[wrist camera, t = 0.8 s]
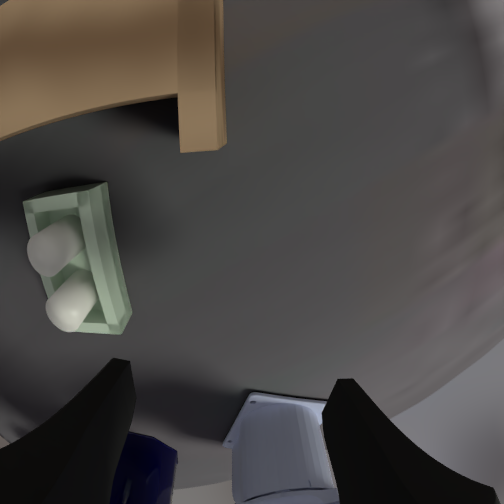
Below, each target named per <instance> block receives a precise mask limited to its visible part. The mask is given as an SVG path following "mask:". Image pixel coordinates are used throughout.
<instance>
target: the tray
mask: <svg viewBox="0 0 504 504" xmlns="http://www.w3.org/2000/svg"><path fill="white" fill-rule="evenodd" d="M23 206H24V212H25V217H26V221H27V226H28V231H29V235H30V240H29V242H28V245H27V254H28V258H29V261H30V263H31V265H32V266H33V268H34V269H35V270H36V271H37V272H38V273H40V276H41V279H42V282H43V285H44V288H45V291H46V294H47V297H48V300H47V302H46V312H47V315H48V317H49V319H50V320H51V321H52V323H53V324H54V325H55V326H56V327H58V328H59V329H60V330H63V331H66V332H74V331H75V332H88V333H104V334H122V332H123V330H124V328H125V326H126V324H127V323H128V321H129V319H130V317H131V315H132V309H131V305H130V301H129V297H128V293H127V289H126V285H125V280H124V276H123V272H122V267H121V262H120V257H119V252H118V247H117V242H116V237H115V231H114V225H113V219H112V213H111V206H110V199H109V192H108V184H107V182H102V183H95V184H89V185H82V186H76V187H70V188H64V189H58V190H52V191H47V192H43V193H41V194H39V195H36V196H34V197H32V198H29V199H27V200H25V201H23Z"/></svg>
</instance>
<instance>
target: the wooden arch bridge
mask: <svg viewBox="0 0 504 504" xmlns="http://www.w3.org/2000/svg"><path fill="white" fill-rule="evenodd" d="M175 97H178V114H179V135H180V152H181V153H184V152H196V151H210V150H218V149H220V148H221V147H222V146H224V145H225V144H226V143H227V136H226V109H225V77H224V35H223V0H9V1H7V2H6V3H4V4H3V5H1V6H0V141H2V140H4V139H7V138H10V137H12V136H15V135H18V134H20V133H23V132H26V131H29V130H32V129H35V128H38V127H41V126H44V125H47V124H50V123H54V122H57V121H61V120H64V119H68V118H71V117H75V116H79V115H83V114H87V113H91V112H95V111H100V110H104V109H109V108H113V107H118V106H124V105H129V104H135V103H140V102H147V101H153V100H160V99H167V98H175Z"/></svg>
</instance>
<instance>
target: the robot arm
mask: <svg viewBox="0 0 504 504" xmlns="http://www.w3.org/2000/svg"><path fill="white" fill-rule="evenodd" d="M135 403H136V394H135V388H134V383H133V377H132V371H131V365H130V361H127V360H122V359H117V358H113V359H111V360H110V361H109V362H108V363H107V365H106V366H105V367H104V368H103V369H102V370H101V371H100V372H99V373H98V374H97V375H96V376H95V377H94V378H93V379H92V380H91V381H90V382H89V383H88V384H87V385H86V386H85V387H84V388H83V389H82V390H81V391H80V392H79V393H78V394H77V395H76V396H75V397H74V398H73V399H72V400H71V401H70V402H68V403H67V404H66V405H65V406H64V407H63V408H62V409H60V410H59V411H58V412H57V413H56V414H55V415H53V416H52V417H51V418H50V419H48V420H47V421H46V422H44V423H43V424H42V425H40V426H39V427H37V428H36V429H34V430H33V431H31V432H30V433H28V434H27V435H25V436H23V437H22V438H20V439H19V440H17V441H15V442H13V443H11V444H9V445H7V446H5V447H3V448H1V449H0V504H109V503H110V496H111V490H112V484H113V479H114V475H115V471H116V468H117V465H118V462H119V459H120V455H121V452H122V449H123V446H124V443H125V440H126V437H127V434H128V431H129V428H130V425H131V422H132V417H133V413H134V408H135ZM322 423H323V431H324V438H325V442H326V446H327V450H328V453H329V457H330V461H331V465H332V468H333V472H334V476H335V480H336V483H337V488H334V486H333V481H332V477H331V473H330V468H329V464H328V460H327V455H326V451H325V447H324V442H323V438H322V434H321V430H320V425H321V424H322ZM223 447H225V448H231V449H232V494H233V498H234V501H235V502H236V503H235V504H500V501H499V499H498V497H497V495H496V493H495V490H494V488H493V487H490V486H487V485H484V484H481V483H478V482H476V481H473V480H471V479H469V478H467V477H465V476H462V475H460V474H458V473H457V472H455V471H453V470H451V469H449V468H448V467H446V466H444V465H443V464H441V463H440V462H438V461H437V460H435V459H434V458H432V457H431V456H429V455H428V454H427V453H425V452H424V451H423V450H422V449H420V448H419V447H418V446H417V445H415V444H414V443H413V442H412V441H411V440H410V439H409V438H408V437H406V436H405V435H404V434H403V433H402V432H401V431H400V430H399V429H398V428H397V427H396V426H395V425H394V424H393V423H392V422H391V421H390V420H389V419H388V418H387V416H386V415H385V414H384V413H383V412H382V411H381V410H380V409H379V408H378V407H377V405H376V404H375V403H374V402H373V401H372V400H371V399H370V397H369V396H368V395H367V394H366V393H365V392H364V390H363V389H362V388H361V387H360V386H359V385H358V384H357V382H356V381H355V380H354V379H337V382H336V384H335V386H334V388H333V390H332V392H331V395H330V397H329V399H328V401H318V400H309V399H300V398H292V397H285V396H278V395H271V394H265V393H259V392H252V393H250V394H249V396H248V398H247V400H246V401H245V403H244V405H243V407H242V409H241V411H240V413H239V414H238V416H237V418H236V420H235V422H234V424H233V425H232V427H231V429H230V431H229V433H228V434H227V436H226V438H225V440H224V441H223ZM337 489H338V491H337ZM338 494H339V495H338Z"/></svg>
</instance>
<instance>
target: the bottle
mask: <svg viewBox="0 0 504 504" xmlns="http://www.w3.org/2000/svg"><path fill="white" fill-rule="evenodd" d="M177 464H178V458H177V451H176V450H174V449H172V448H171V447H169V446H167V445H166V444H164V443H162V442H161V441H159V440H157V439H156V438H154V437H151V436H146V435H141V434H136V433H132V432H128V434H127V437H126V440H125V443H124V446H123V449H122V452H121V455H120V459H119V462H118V465H117V468H116V471H115V475H114V479H113V484H112V490H111V496H110V503H109V504H172V498H173V489H174V481H175V473H176V465H177Z"/></svg>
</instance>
